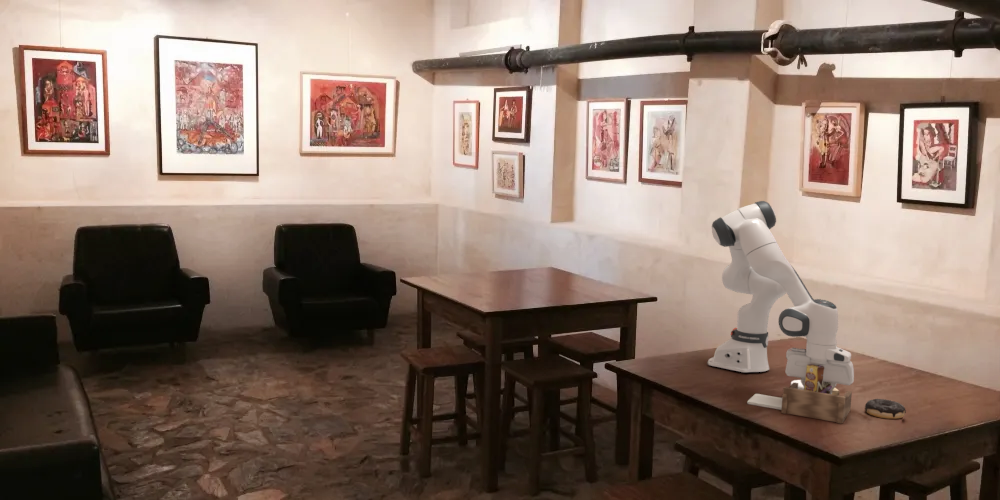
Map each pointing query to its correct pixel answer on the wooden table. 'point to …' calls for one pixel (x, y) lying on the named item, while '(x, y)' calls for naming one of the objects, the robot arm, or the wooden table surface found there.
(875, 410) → the donut
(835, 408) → the open wooden box
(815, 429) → the wooden table surface
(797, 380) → the white round container
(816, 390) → the candy box
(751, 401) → the mat
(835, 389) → the offcut top
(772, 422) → the wooden table surface
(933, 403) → the wooden table surface
